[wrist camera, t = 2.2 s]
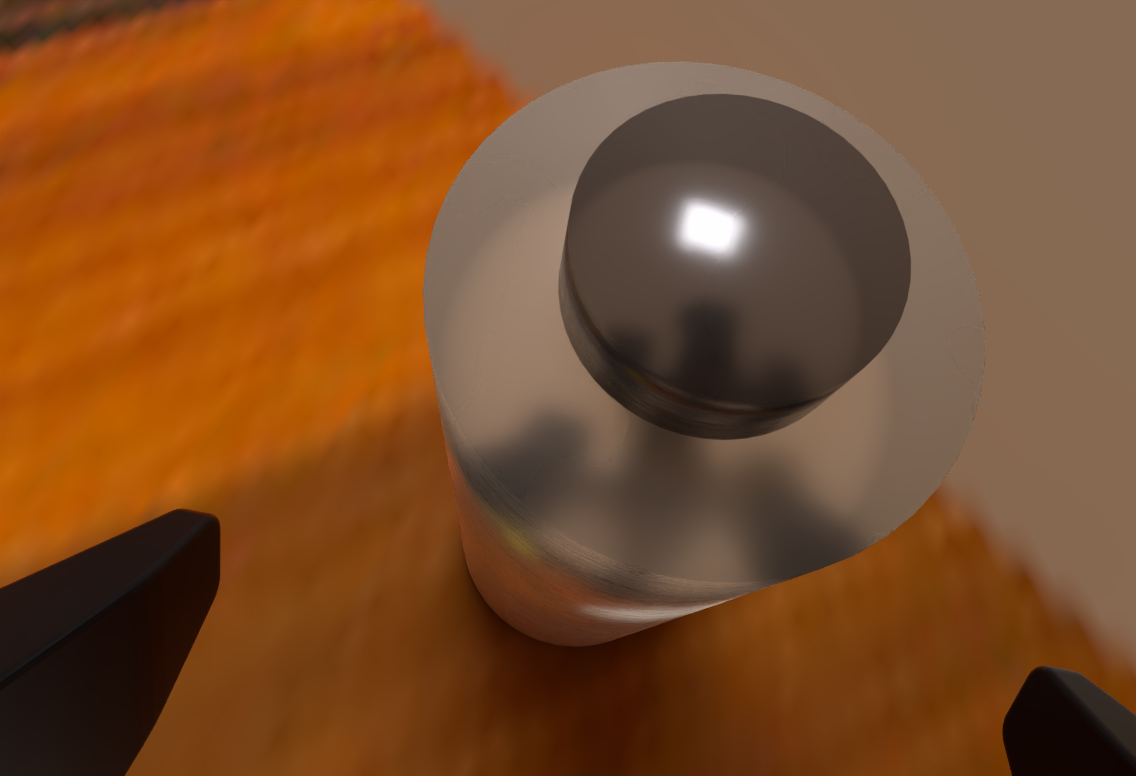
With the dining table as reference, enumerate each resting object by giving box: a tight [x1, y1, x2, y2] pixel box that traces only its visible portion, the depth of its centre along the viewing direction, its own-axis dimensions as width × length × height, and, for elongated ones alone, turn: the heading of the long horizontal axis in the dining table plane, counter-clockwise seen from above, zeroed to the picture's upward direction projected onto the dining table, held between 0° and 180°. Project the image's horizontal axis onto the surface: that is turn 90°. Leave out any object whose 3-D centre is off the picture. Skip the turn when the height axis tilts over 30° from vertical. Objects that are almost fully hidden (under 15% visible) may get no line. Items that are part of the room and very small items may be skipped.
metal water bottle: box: [423, 62, 985, 647], centre depth 13 cm, size 5×5×14 cm
